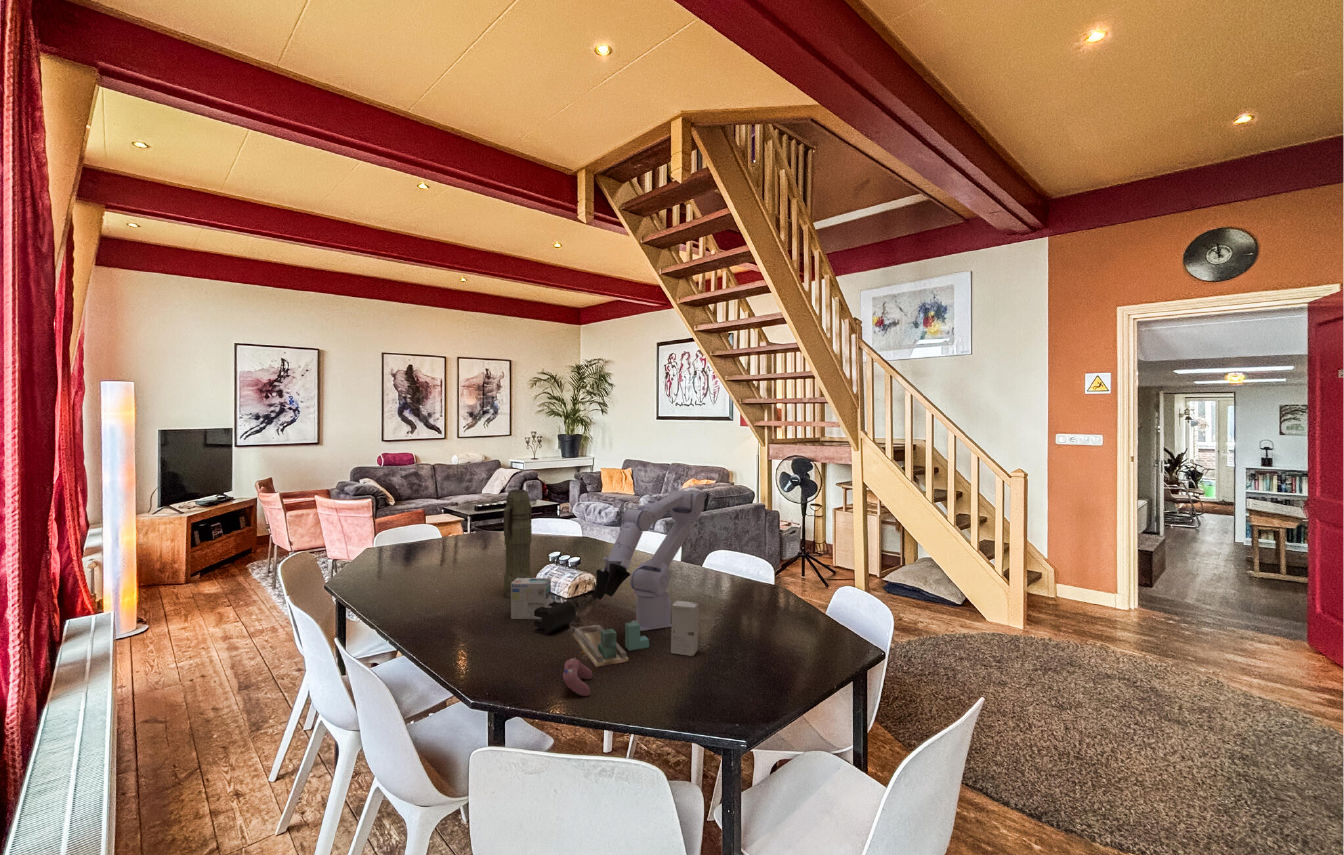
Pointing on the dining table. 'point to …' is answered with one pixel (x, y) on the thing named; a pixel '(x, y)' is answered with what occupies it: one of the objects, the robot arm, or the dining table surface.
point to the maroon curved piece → (571, 674)
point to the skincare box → (684, 628)
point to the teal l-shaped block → (634, 637)
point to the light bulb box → (529, 596)
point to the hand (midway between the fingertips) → (602, 596)
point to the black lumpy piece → (554, 616)
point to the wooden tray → (600, 645)
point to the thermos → (517, 537)
